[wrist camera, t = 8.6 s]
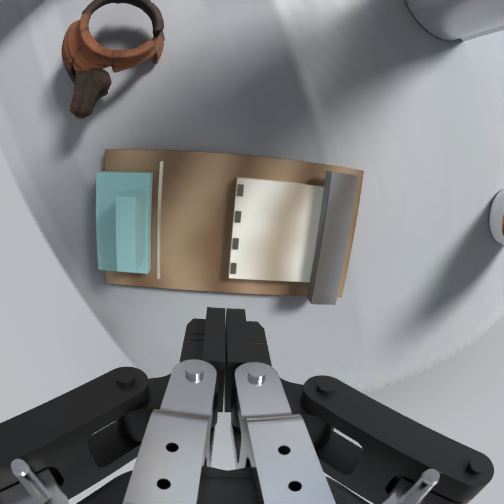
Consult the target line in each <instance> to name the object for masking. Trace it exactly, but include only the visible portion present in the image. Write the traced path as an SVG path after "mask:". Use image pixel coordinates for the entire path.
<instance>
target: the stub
mask: <svg viewBox="0 0 504 504" xmlns="http://www.w3.org/2000/svg"><path fill="white" fill-rule="evenodd" d="M152 181H153V172H109V171H101V172H96V237H97V257H98V270H108V271H119V272H131V273H144V274H148V273H149V272H150V270H151V205H152Z"/></svg>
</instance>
